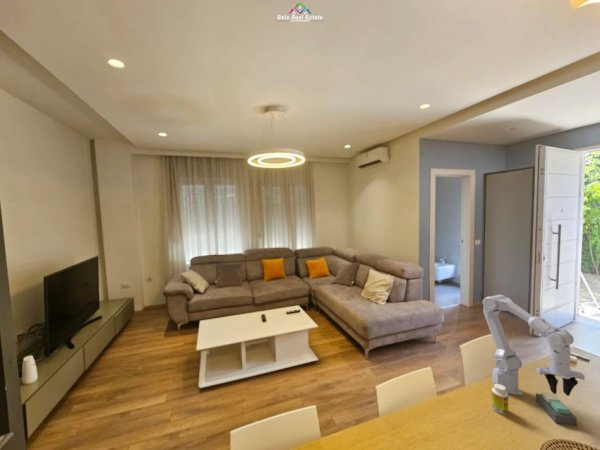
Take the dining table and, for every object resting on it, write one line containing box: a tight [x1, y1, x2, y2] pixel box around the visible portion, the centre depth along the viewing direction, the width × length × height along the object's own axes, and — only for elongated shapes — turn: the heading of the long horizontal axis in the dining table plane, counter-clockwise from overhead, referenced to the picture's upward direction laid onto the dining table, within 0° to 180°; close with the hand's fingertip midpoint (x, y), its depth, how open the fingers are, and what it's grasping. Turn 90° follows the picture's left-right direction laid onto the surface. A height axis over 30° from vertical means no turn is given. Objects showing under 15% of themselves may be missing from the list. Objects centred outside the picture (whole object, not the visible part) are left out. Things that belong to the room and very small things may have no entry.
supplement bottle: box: [491, 384, 509, 415], centre depth 108 cm, size 6×6×10 cm
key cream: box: [541, 391, 561, 403], centre depth 108 cm, size 4×4×2 cm
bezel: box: [535, 393, 578, 425], centre depth 105 cm, size 7×12×2 cm, turn 164°
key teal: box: [550, 401, 571, 415], centre depth 103 cm, size 4×4×2 cm
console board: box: [535, 398, 578, 427], centre depth 105 cm, size 7×12×1 cm, turn 164°
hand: (559, 393), depth 102 cm, fingers open, 4 cm apart
